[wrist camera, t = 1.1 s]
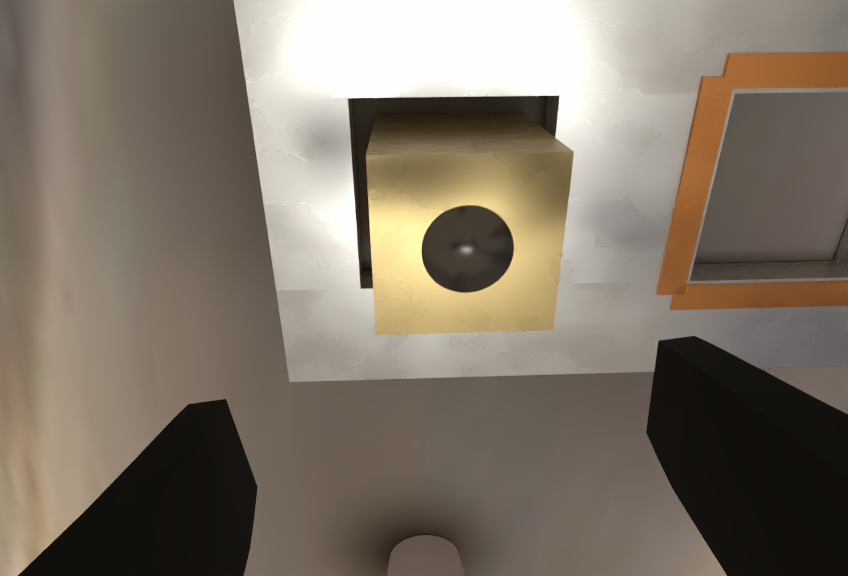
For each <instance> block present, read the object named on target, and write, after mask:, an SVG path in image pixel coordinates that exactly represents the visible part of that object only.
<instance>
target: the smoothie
mask: <svg viewBox="0 0 848 576" xmlns="http://www.w3.org/2000/svg"><path fill="white" fill-rule="evenodd" d="M387 576H464V572H463V568H462V563H461V559H460V555H459V552H458V550H457V548H456V546H455V545H454V544H453V543H451V542H450V541H448V540H447V539H444V538H442V537H438V536H433V535H419V536H414V537H410V538H408V539H405V540H403V541H402V542H400V543H399V544H397V545H396V546H395V547H394V549H393V550H392V552H391V554H390V558H389V565H388V571H387Z"/></svg>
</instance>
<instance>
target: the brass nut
mask: <svg viewBox="0 0 848 576" xmlns="http://www.w3.org/2000/svg"><path fill="white" fill-rule="evenodd" d="M573 158H574V151H572V150H571V149H570V148H568V147H567V146H566V145H564V144H563V143H562V142H560V141H559V140H558V139H557V138H555V137H554V136H553V135H551V134H550V133H549V132H547V131H546V130H545V129H543V128H542V127H541V126H539V125H538V124H537V123H536V122H534V121H533V120H532V119H530V118H529V117H528V116H526V115H525V114H524V113H498V114H424V115H376V116H375V120H374V124H373V128H372V132H371V136H370V140H369V144H368V148H367V152H366V168H367V186H368V204H369V222H370V240H371V258H372V276H373V294H374V312H375V330H376V335H401V334H437V333H474V332H510V331H547V330H553V328H554V319H555V311H556V302H557V294H558V285H559V277H560V268H561V260H562V251H563V243H564V234H565V226H566V217H567V209H568V200H569V192H570V183H571V175H572V166H573Z"/></svg>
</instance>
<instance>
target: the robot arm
mask: <svg viewBox="0 0 848 576" xmlns="http://www.w3.org/2000/svg"><path fill="white" fill-rule="evenodd" d="M646 433H647V435H648V437H649V439H650V442H651V444H652V446H653V448H654V450H655V453H656V455H657V457H658V459H659V462H660V464H661V466H662V468H663V470H664V472H665V474H666V476H667V478H668V480H669V482H670V484H671V486H672V488H673V490H674V491H675V493H676V495H677V496H678V498H679V500H680V501H681V503H682V504H683V506H684V508H685V509H686V511H687V513H688V514H689V516H690V517H691V519H692V521H693V522H694V524H695V525H696V527H697V529H698V530H699V532H700V533H701V535H702V537H703V538H704V540H705V541H706V543H707V544H708V546H709V548H710V549H711V551H712V552H713V554H714V555H715V557H716V559H717V560H718V562H719V563H720V565H721V566H722V568H723V570H724V571H725V573H726V574H727V576H848V414H846V413H844V412H842V411H840V410H838V409H836V408H834V407H832V406H830V405H828V404H826V403H824V402H822V401H820V400H818V399H816V398H814V397H812V396H810V395H809V394H807V393H805V392H803V391H801V390H799V389H797V388H795V387H793V386H791V385H789V384H788V383H786V382H784V381H782V380H780V379H778V378H776V377H774V376H772V375H771V374H769V373H767V372H765V371H763V370H761V369H759V368H757V367H756V366H754V365H752V364H750V363H748V362H746V361H744V360H742V359H740V358H739V357H737V356H735V355H733V354H731V353H729V352H727V351H725V350H723V349H721V348H719V347H717V346H715V345H713V344H711V343H709V342H707V341H705V340H703V339H701V338H698V337H696V336H688V337H681V338H674V339H666V340H659V341H658V348H657V355H656V363H655V370H654V378H653V386H652V393H651V401H650V408H649V416H648V423H647V431H646ZM256 495H257V484H256V482H255V479H254V476H253V473H252V471H251V468H250V465H249V462H248V459H247V457H246V454H245V451H244V448H243V446H242V443H241V440H240V437H239V434H238V432H237V429H236V426H235V423H234V420H233V418H232V415H231V412H230V409H229V407H228V404H227V401H226V399H223V400H216V401H209V402H201V403H194V404H188V405H187V406H186V407H185V408H184V409H183V410H182V411H181V412H180V413H179V414H178V415H177V416H176V417H175V418H174V419H173V420H172V421H171V422H170V423H169V424H168V425H167V426H166V427H165V428H164V429H163V430H162V431H161V432H160V434H159V435H158V436H157V437H156V438H155V439H154V440H153V441H152V442H151V443H150V444H149V445H148V446H147V447H146V448H145V449H144V450H143V451H142V453H141V454H140V455H139V456H138V457H137V458H136V459H135V460H134V461H133V462H132V463H131V464H130V465H129V466H128V467H127V468H126V469H125V470H124V471H123V472H122V473H121V474H120V476H119V477H118V478H117V479H116V480H115V481H114V482H113V483H112V484H111V485H110V486H109V487H108V488H107V489H106V490H105V491H104V492H103V493H102V494H101V495H100V496H99V497H98V498H97V499H96V500H95V501H94V502H93V503H92V504H91V505H90V507H89V508H88V509H87V510H86V511H85V512H84V513H83V514H82V515H80V516H79V517H78V518H77V519H76V520H75V521H74V522H73V523H72V524H71V525H70V526H69V527H68V528H67V529H66V530H65V531H64V532H63V533H62V534H61V535H60V536H59V537H58V538H57V539H56V540H55V541H53V542H52V543H51V544H50V545H49V546H48V547H47V548H46V549H45V550H44V551H43V552H42V553H41V554H40V555H39V556H38V557H37V558H36V559H35V560H34V561H33V562H32V563H31V564H30V565H29V566H28V567H27V568H25V569H24V570H23V571H22V572H21V573H20V574H19V575H18V576H244V571H245V567H246V563H247V559H248V554H249V550H250V544H251V537H252V529H253V522H254V513H255V504H256Z"/></svg>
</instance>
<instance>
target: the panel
mask: <svg viewBox="0 0 848 576" xmlns="http://www.w3.org/2000/svg"><path fill="white" fill-rule="evenodd" d="M234 6H235V13H236V20H237V27H238V33H239V40H240V47H241V54H242V61H243V67H244V74H245V81H246V88H247V95H248V101H249V108H250V115H251V122H252V129H253V135H254V142H255V149H256V156H257V163H258V170H259V176H260V183H261V190H262V197H263V204H264V210H265V217H266V224H267V231H268V238H269V244H270V251H271V258H272V265H273V272H274V279H275V285H276V292H277V299H278V306H279V313H280V319H281V326H282V333H283V340H284V347H285V353H286V360H287V367H288V374H289V381H290V382H304V381H339V380H374V379H409V378H445V377H480V376H515V375H550V374H585V373H620V372H654V370H655V363H656V355H657V348H658V341H659V340H666V339H674V338H681V337H688V336H696V337H698V338H701V339H703V340H705V341H707V342H709V343H711V344H713V345H715V346H717V347H719V348H721V349H723V350H725V351H727V352H729V353H731V354H733V355H735V356H737V357H739V358H740V359H742V360H744V361H746V362H748V363H750V364H752V365H754V366H756V367H757V368H759V369H760V368H795V367H830V366H848V223H847V225H846V228H845V231H844V233H843V236H842V239H841V242H840V244H839V247H838V250H837V252H836V255H835V258H834V261H797V262H752V263H707V264H694V261H695V257H696V253H697V248H698V244H699V240H700V236H701V232H702V228H703V224H704V219H705V215H706V211H707V207H708V203H709V199H710V195H711V190H712V186H713V182H714V178H715V174H716V170H717V165H718V161H719V157H720V153H721V149H722V145H723V141H724V136H725V132H726V128H727V124H728V120H729V116H730V112H731V107H732V103H733V99H734V95H735V93H812V92H848V0H234ZM481 96H547V103H546V114H545V125H544V129H545V130H546V131H547V132H549V133H550V134H551V135H553V136H554V137H555V138H557V139H558V140H559V141H560V142H562V143H563V144H564V145H566V146H567V147H568V148H570V149H571V150H572V151H574V158H573V166H572V175H571V183H570V192H569V200H568V209H567V217H566V226H565V234H564V243H563V251H562V260H561V268H560V277H559V285H558V294H557V302H556V311H555V319H554V328H553V330H547V331H510V332H474V333H437V334H401V335H376V330H375V312H374V294H373V276H372V271H363V260H362V244H361V229H360V213H359V197H358V182H357V166H356V150H355V134H354V119H353V103H352V98H399V97H481Z"/></svg>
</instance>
